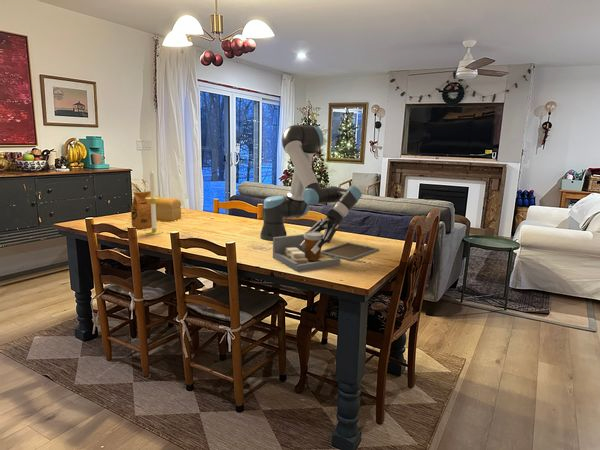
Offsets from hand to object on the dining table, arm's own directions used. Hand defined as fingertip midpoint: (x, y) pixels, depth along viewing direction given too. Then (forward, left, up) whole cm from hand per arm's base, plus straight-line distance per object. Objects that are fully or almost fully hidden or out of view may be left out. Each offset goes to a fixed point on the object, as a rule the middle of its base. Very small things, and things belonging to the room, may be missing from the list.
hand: (307, 249), depth 194 cm
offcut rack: (-1, 0, -6) cm, 6 cm away
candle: (-88, -51, -6) cm, 102 cm away
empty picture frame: (-5, +27, -7) cm, 28 cm away
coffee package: (-106, -54, -6) cm, 119 cm away
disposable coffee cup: (0, +3, -5) cm, 6 cm away
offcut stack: (0, -6, -6) cm, 9 cm away
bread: (-128, -39, -6) cm, 134 cm away
